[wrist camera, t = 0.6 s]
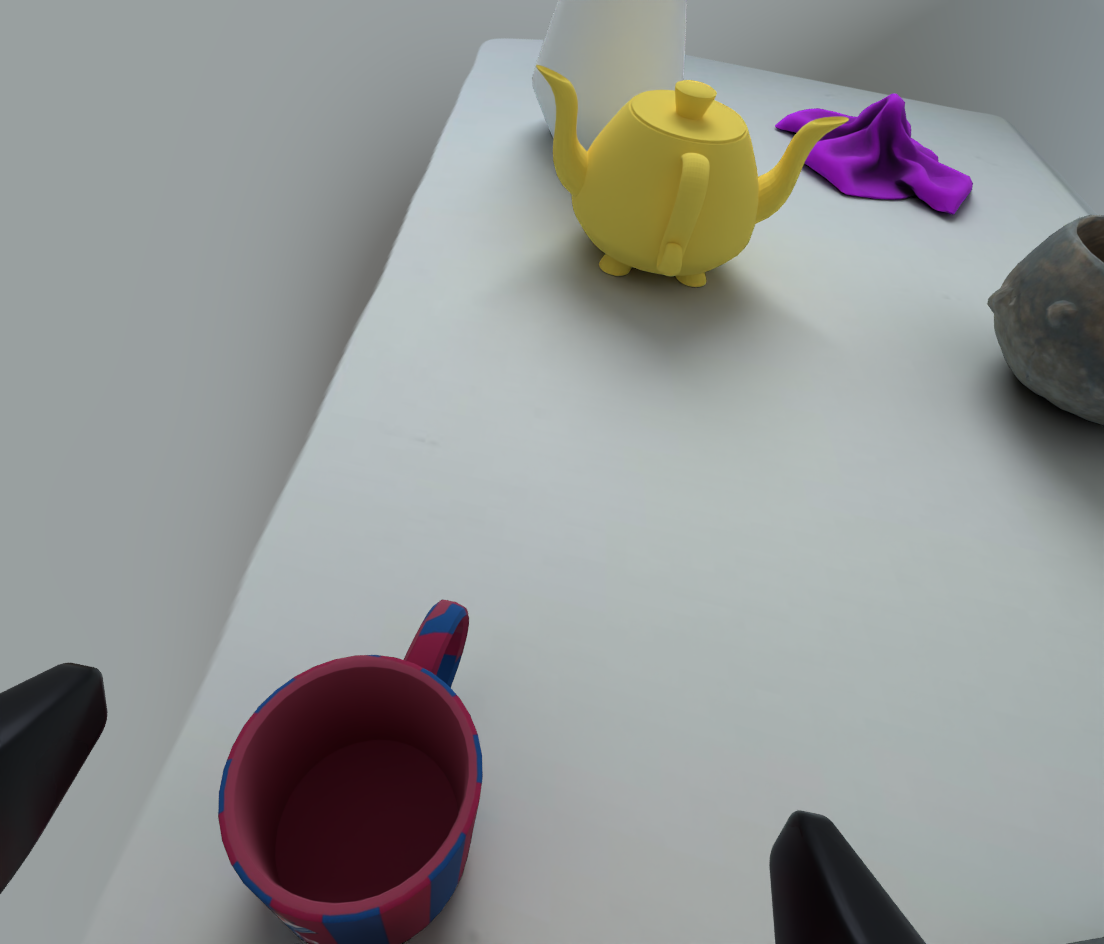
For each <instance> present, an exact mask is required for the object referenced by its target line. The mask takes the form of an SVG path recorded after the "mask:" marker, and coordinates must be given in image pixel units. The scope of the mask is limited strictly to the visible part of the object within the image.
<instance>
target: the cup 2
mask: <svg viewBox="0 0 1104 944" xmlns="http://www.w3.org/2000/svg"><path fill="white" fill-rule="evenodd" d="M686 11H687V0H558V3H557V5H556V9H555V11H554V14H553V17H552V20H551V23H550V26H549V28H548V32H547V34H546V37H545V40H544V43H543V46H542V48H541V51H540V54H539V57H538V60H537V63H536V65H541V66H544V67H546V68H549V69H551V70H553V71H555V72H557V73H559V74H561V75H562V76H564V77H565V78H567V79H568V80H569V81H570V82H571V83H572V85H573V87H574V89H575V92H576V94H577V100H578V113H577V126H576V131H577V138H578V141H579V143H580V144H581V145H582V146H583V148H584V149H585V150H586V151H588V149H589V148H590V146H591V144H592V143H593V141H594V140H595V139H596V137H597V136H598V135H599V133H600V132H601V131H602V130H603V128H604V127H605V126H606V125H607V124H608V123H609V122H610V120H611V119H612V118H613V117H614V116H615V115H616V114H617V113H618V111H619V110H620V109H621V108H622V107H623V106H624V105H625V104H626V103H627V102H628V101H630V100H631V99H632V98H633V97H634V96H636V95H638V94H640V93H642V92H646V91H651V90H675V84H676V83H677V82H679V81H683V80H684V58H685V35H686V34H685V33H686ZM532 83H533V89H534V92H535V94H536V97H537V100H538V102H539V105H540V107H541V110H542V112H543V115H544V117H545V120H546V122H547V125H548V128H549V130H550V132H551V134H552V136H553V139H554V131H555V122H556V104H555V97H554V94H553V91H552V89H551V86H550V85H549V83H548V82H547V81H546V79H545V78H544V76H543V75H542V74H541V73H540V72H539V70H538V69H537V67H536V66H535V68H534V72H533V77H532Z"/></svg>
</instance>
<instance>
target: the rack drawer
mask: <svg viewBox="0 0 1104 944" xmlns="http://www.w3.org/2000/svg"><path fill="white" fill-rule="evenodd" d="M1068 944H1104V937H1102V938H1096V939H1091V940H1085V941H1079V942H1074V943H1068Z"/></svg>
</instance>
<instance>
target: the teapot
mask: <svg viewBox="0 0 1104 944" xmlns="http://www.w3.org/2000/svg"><path fill="white" fill-rule="evenodd" d="M536 67H537V69H538V70H539V72H540V73H541V74H542V75H543V76H544V78H545V79H546V81H547V82H548V83H549V85H550V86H551V89H552V91H553V94H554V97H555V104H556V122H555V131H554V140H553V162H554V166H555V169H556V173H557V176H558V178H559V180H560V181H561V183H562V185H563V186H564V187H565V188H566V189H567V190H568V191H569V192H570V193H571V194H572V204H573V210H574V212H575V215H576V217H577V219H578V221H579V223H580V224H581V226H582V228H583V229H584V231H585V233H586V234H587V235H588V237H589V238H590V240H591V241H592V242H593V243H594V244H595V245H596V246H597V247H598V248H599V249H600V250H601V251H603V252H604V253H605V255H604V256H603V258H602V259H601V260H600V262H599V267H600V268H601V269H602V270H603V271H604V272H606V273H608V274H610V275H614V276H623V275H627V274H628V273H629V272H630V270H631V268H632V267H633V268H636V269H639V270H643V271H647V272H651V273H657V274H663V275H666V276H676V278H677V279H678V280H679V281H680V282H681V283H683V284H685V285H687V286H691V287H701V286H703V285H705V284H706V276H705V272H707V271H709V270H712V269H714V268H716V267H718V266H720V265H722V264H724V263H726V262H727V261H729V260H731V259H732V258H734V257H736V256H737V255H738V254H739V253H740V252H741V251H742V250H743V249H744V248H745V247H746V245H747V244H748V243H749V240H750V238H751V235H752V232H753V229H754V226H755V224H756V223H758V222H760V221H762V220H765V219H767V218H768V217H770V216H771V215H772V214H774V213H775V212H777V211H778V210H779V209H780V207H781V206H782V205H783V204H784V203H785V202H786V200H787V199H788V197H789V195H790V194H791V192H792V190H793V188H794V186H795V184H796V181H797V179H798V177H799V174H800V172H801V170H802V167H803V165H804V163H805V161H806V159H807V157H808V155H809V153H810V151H811V150H812V149H813V147H814V146H815V144H816V143H817V142H818V141H819V140H820V139H821V138H822V137H823V136H824V135H825V134H827V133H828V132H830V131H832V130H833V129H835V128H837V127H838V126H841V125H842V124H844V123H846V122H847V121H848V120H849V118H847V117H825V118H819V119H816V120H813V121H810V122H809V123H807V124H806V125H804V126H803V127H802V128H801V129H800V130H799V131H798V132H797V133H796V134H795V136H794V137H793V139H792V140H791V142H790V144H789V145H788V147H787V149H786V151H785V153H784V155H783V156H782V158H781V160H780V161H779V162H778V164H777V165H776V166H775V167H774V168H773V169H772V170H770V171H769V172H768V173H766V174H763V175H761V176H759V177H758V174H757V167H756V162H755V157H754V152H753V147H752V142H751V138H750V135H749V131H748V128H747V125H746V124H745V122H744V120H743V119H742V118H741V116H740V115H739V114H737V113H736V112H735V111H734V110H732V109H731V108H729V107H727V106H725V105H724V104H722V103H719V102H717V101H715V100H714V99H715V97H716V94H717V93H716V91H715V90H714V89H713V88H712V87H710V86H709V85H707V84H704V83H702V82H698V81H693V80H683V81H679V82H677V83H676V84H675V90H651V91H646V92H642V93H640V94H638V95H636V96H634V97H633V98H632V99H631V100H630V101H628V102H627V103H626V104H625V105H624V106H623V107H622V108H621V109H620V110H619V111H618V113H617V114H616V115H615V116H614V117H613V118H612V119H611V120H610V122H609V123H608V124H607V125H606V126H605V127H604V128H603V130H602V131H601V132H600V133H599V135H598V136H597V137H596V139H595V140H594V141H593V143H592V144H591V146H590V148H589V149H588V151H586V150H585V149H584V148H583V146H582V145H581V144H580V143H579V141H578V138H577V131H576V126H577V113H578V100H577V94H576V92H575V89H574V87H573V85H572V83H571V82H570V81H569V80H568V79H567V78H565V77H564V76H562V75H561V74H559V73H557V72H555V71H553V70H551V69H549V68H546V67H544V66H541V65H536Z"/></svg>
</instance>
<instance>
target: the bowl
mask: <svg viewBox="0 0 1104 944" xmlns="http://www.w3.org/2000/svg"><path fill="white" fill-rule="evenodd" d="M987 304H988V306H989V307H990V309H991V310H992V312H993V313H994V329H995V333H996V337H997V340H998V343H999V345H1000V347H1001V350H1002V353H1003V356H1004V358H1005V360H1006V362H1007V363H1008V365H1009V367H1010V368H1011V369H1012V371H1013V373H1014V374H1015V376H1016V377H1017V378H1018V379H1019V380H1020V381H1021V383H1022V384H1024V385H1025V386H1026V387H1028V388H1029V389H1030V390H1032V391H1033V392H1035V393H1036V394H1038V395H1040V396H1043V397H1044V398H1046V399H1047V400H1048V401H1050V402H1051V403H1053V404H1054V405H1056V406H1057V407H1059V408H1060V409H1062V410H1065V411H1067V412H1070V413H1073V414H1075V415H1077V416H1079V417H1081V418H1084V419H1086V420H1088V421H1091V422H1095V423H1098V424H1101V425H1104V216H1102V215H1088V216H1084V217H1081V218H1078V219H1076V220H1074V221H1072V222H1070V223H1069V224H1067V225H1065V226H1064V227H1062V228H1061V229H1059V230H1058V231H1056V232H1055V233H1053V234H1052V235H1051V236H1049V237H1048V238H1047V239H1046V240H1045V241H1043V242H1042V243H1041V244H1040V245H1039V246H1038V247H1036V248H1035V249H1034V250H1033V251H1032V252H1031V253H1029V254H1028V255H1027V256H1026V257H1025V258H1024V259H1023V260H1022V261H1021V262H1020V263H1018V264H1017V266H1016V267H1015V268H1014V269H1013V270H1012V271H1011V272H1010V273H1009V275H1008V276H1007V278H1006V279H1005V281H1004V283H1003V284H1002V286H1001V288H1000V289H999V290H997V291H996V292H995V293H993V294H992V295H991V297H990V298H989V299H988V303H987Z"/></svg>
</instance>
